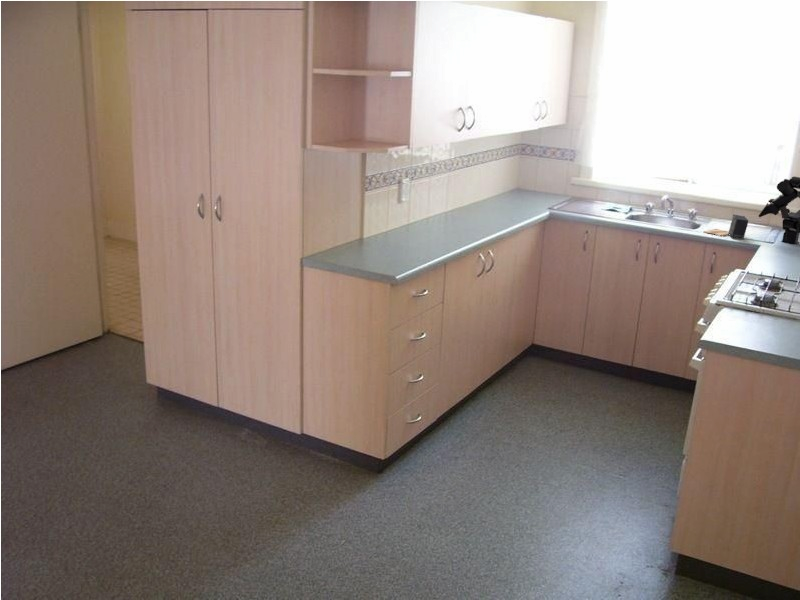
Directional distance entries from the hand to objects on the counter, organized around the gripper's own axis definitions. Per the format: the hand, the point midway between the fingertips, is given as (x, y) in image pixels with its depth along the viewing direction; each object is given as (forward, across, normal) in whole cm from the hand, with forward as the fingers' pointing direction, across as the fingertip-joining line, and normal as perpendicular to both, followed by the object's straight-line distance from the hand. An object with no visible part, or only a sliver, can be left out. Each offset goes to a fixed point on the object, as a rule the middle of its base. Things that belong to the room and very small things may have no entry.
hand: (758, 216), depth 411 cm
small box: (+15, +1, -2) cm, 16 cm away
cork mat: (+22, +6, +4) cm, 23 cm away
